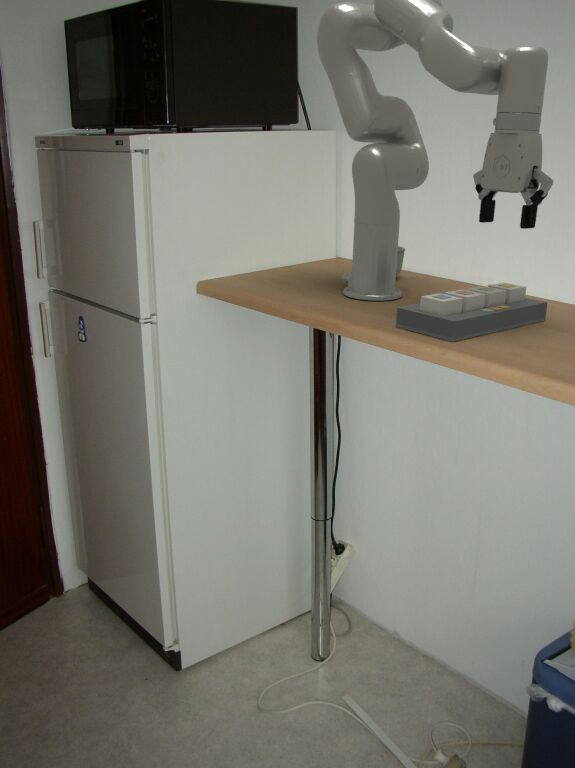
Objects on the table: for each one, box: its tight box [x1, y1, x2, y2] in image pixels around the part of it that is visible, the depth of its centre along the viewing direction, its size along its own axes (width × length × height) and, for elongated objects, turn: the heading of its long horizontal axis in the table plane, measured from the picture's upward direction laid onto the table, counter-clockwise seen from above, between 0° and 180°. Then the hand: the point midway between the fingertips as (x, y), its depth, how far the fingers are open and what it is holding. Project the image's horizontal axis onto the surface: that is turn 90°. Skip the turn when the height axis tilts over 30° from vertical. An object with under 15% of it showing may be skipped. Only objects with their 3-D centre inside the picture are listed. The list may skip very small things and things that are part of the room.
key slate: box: [419, 293, 463, 316], centre depth 136 cm, size 5×5×3 cm
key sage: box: [466, 285, 506, 307], centre depth 144 cm, size 5×5×3 cm
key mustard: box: [487, 282, 527, 303], centre depth 148 cm, size 5×5×3 cm
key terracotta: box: [443, 289, 485, 312], centre depth 140 cm, size 5×5×3 cm
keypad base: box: [395, 297, 548, 343], centre depth 142 cm, size 13×28×4 cm, turn 130°
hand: (506, 225), depth 137 cm, fingers open, 9 cm apart
